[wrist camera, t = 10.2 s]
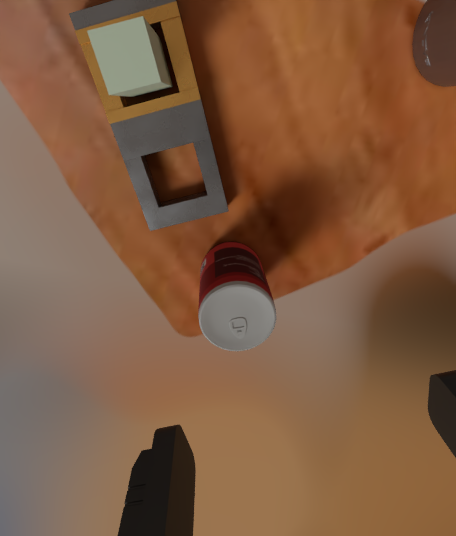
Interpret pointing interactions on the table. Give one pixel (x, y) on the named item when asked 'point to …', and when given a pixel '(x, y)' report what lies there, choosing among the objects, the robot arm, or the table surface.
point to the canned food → (235, 298)
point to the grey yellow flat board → (157, 113)
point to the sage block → (130, 58)
